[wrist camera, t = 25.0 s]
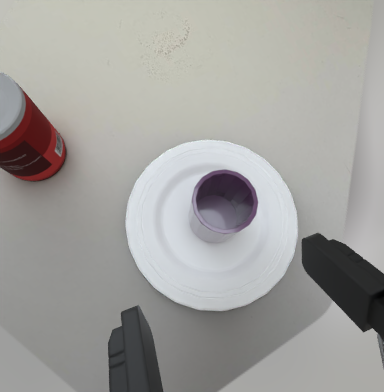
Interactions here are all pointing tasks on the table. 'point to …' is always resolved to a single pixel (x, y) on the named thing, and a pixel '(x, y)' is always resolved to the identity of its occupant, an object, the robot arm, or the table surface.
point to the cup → (222, 205)
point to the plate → (200, 250)
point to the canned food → (26, 136)
